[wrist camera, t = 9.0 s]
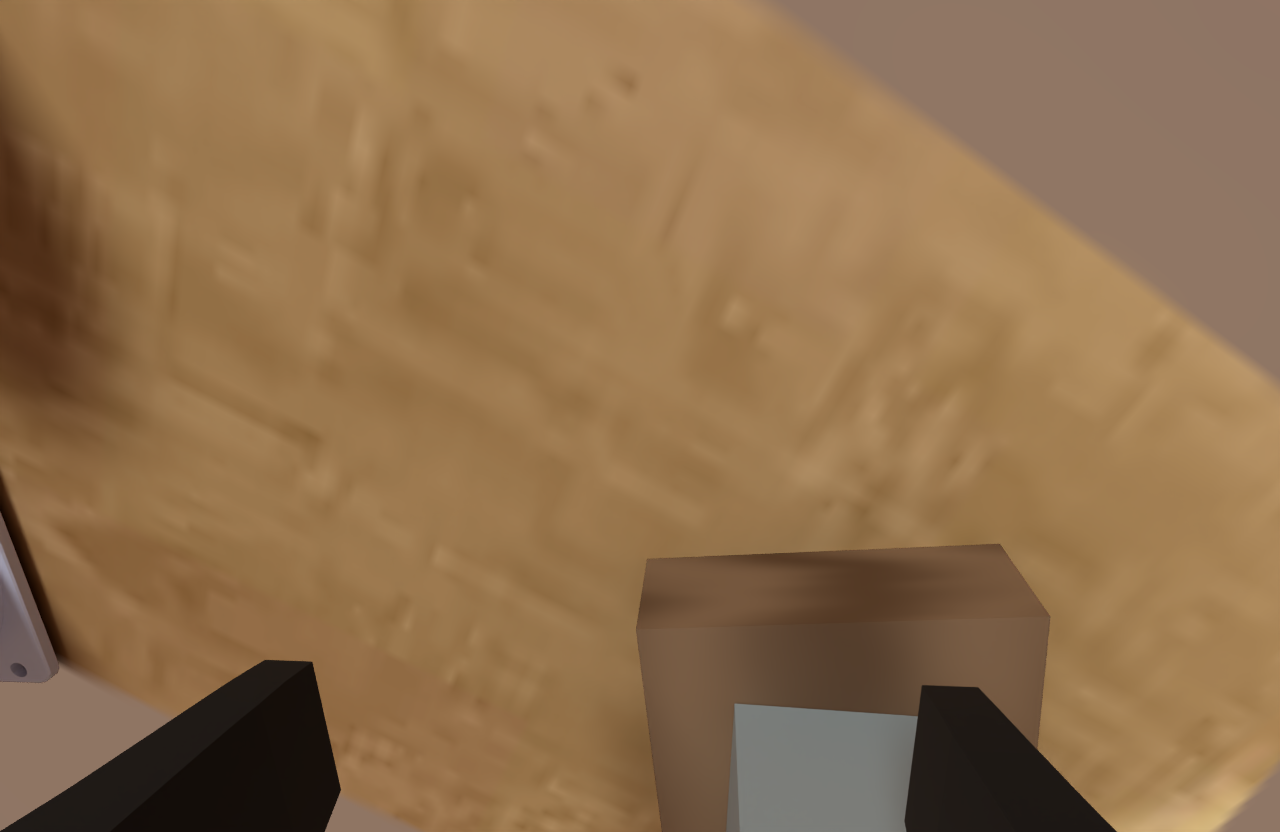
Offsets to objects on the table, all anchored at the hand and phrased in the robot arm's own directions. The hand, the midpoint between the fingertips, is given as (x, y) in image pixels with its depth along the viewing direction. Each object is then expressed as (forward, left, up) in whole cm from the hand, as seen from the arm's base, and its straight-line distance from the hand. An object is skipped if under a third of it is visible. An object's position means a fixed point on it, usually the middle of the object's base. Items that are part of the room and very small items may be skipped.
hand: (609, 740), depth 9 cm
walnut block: (+4, -8, -11) cm, 14 cm away
